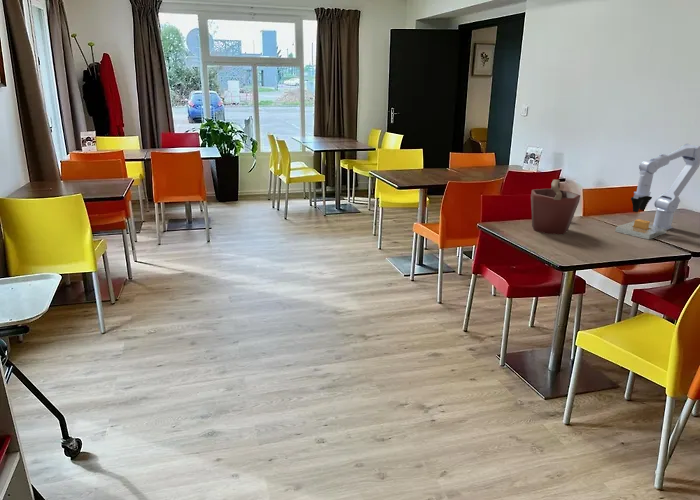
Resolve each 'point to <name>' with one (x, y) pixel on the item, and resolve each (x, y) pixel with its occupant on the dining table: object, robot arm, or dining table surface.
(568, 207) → the bucket
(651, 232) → the grey plate with hole
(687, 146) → the robot arm
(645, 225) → the orange rectangular block
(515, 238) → the dining table surface
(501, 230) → the dining table surface
